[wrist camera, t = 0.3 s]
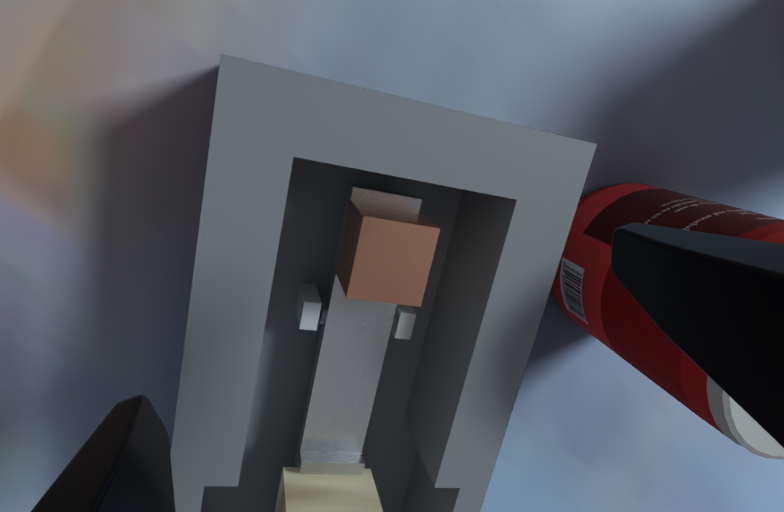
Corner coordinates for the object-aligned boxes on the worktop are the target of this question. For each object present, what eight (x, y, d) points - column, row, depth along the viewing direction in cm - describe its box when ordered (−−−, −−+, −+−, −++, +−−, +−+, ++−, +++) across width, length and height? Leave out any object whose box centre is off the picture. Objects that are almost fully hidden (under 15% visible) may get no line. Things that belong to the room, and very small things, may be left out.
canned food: (609, 348, 29) (802, 493, 19) (510, 274, 26) (676, 399, 16) (701, 237, 28) (956, 325, 18) (610, 147, 25) (853, 192, 15)
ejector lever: (337, 549, 26) (347, 613, 23) (272, 551, 25) (274, 617, 22) (420, 196, 21) (448, 215, 18) (344, 182, 20) (360, 200, 17)
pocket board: (408, 552, 30) (437, 643, 25) (164, 560, 26) (143, 669, 21) (527, 131, 24) (597, 144, 19) (229, 60, 20) (220, 53, 15)
